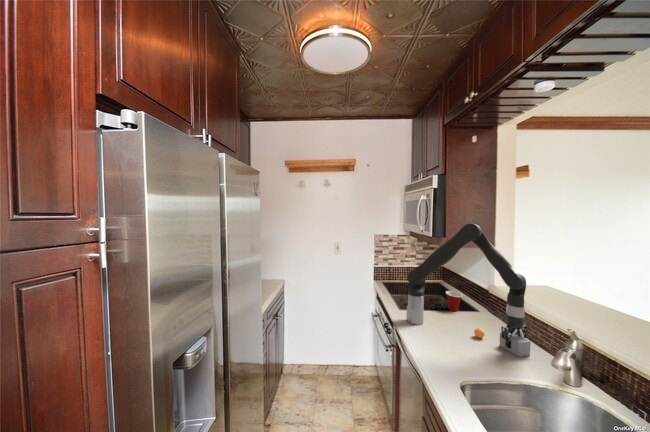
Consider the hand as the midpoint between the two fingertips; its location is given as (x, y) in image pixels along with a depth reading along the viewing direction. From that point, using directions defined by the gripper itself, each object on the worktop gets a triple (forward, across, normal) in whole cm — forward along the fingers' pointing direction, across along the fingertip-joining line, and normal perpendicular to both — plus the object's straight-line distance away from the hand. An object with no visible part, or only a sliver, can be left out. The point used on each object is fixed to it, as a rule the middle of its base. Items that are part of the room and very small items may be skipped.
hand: (514, 346), depth 133 cm
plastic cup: (+2, -7, -54) cm, 54 cm away
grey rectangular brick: (+2, 0, 0) cm, 2 cm away
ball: (-1, +7, -15) cm, 17 cm away
